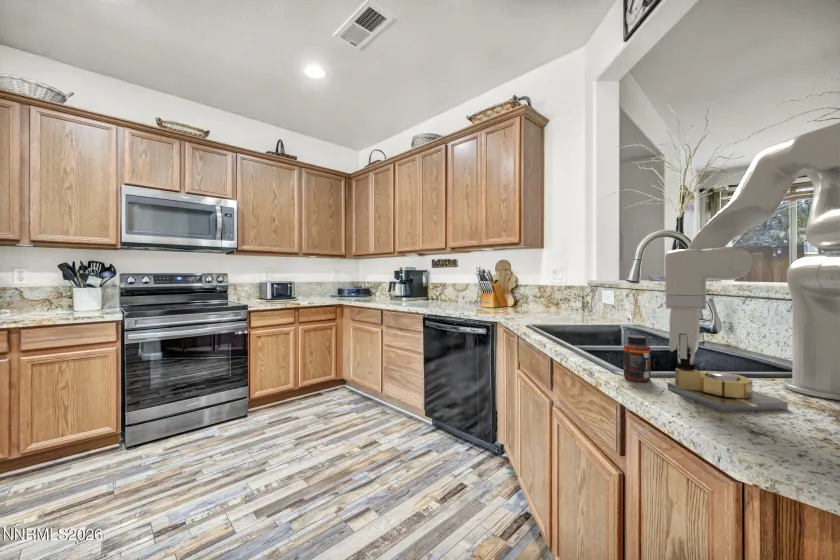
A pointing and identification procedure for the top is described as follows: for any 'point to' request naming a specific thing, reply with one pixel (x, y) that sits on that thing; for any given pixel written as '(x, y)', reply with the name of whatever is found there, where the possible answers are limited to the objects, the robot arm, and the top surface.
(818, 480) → the top surface
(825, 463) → the top surface
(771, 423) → the top surface
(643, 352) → the supplement bottle
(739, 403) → the spindle plate
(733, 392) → the segmented octagonal ring
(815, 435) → the top surface
